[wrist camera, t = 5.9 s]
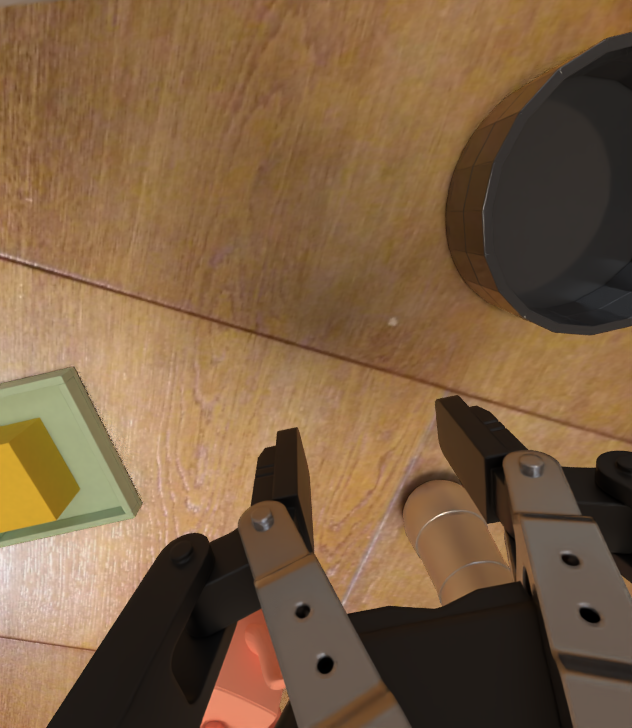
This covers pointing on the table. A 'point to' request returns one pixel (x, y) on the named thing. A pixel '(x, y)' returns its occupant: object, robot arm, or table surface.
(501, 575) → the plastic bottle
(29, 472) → the sponge
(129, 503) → the tray
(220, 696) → the teapot
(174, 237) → the table surface
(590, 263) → the bowl
